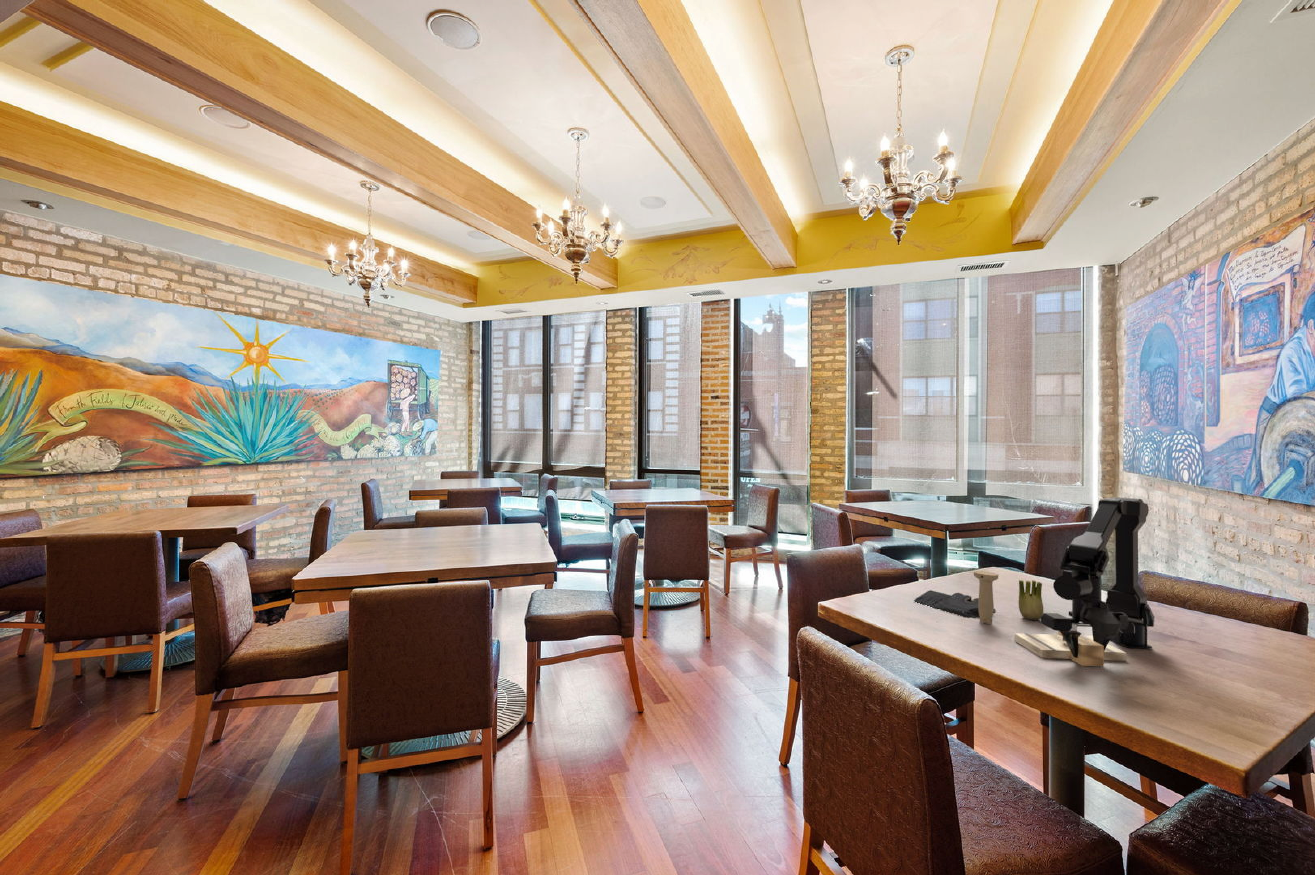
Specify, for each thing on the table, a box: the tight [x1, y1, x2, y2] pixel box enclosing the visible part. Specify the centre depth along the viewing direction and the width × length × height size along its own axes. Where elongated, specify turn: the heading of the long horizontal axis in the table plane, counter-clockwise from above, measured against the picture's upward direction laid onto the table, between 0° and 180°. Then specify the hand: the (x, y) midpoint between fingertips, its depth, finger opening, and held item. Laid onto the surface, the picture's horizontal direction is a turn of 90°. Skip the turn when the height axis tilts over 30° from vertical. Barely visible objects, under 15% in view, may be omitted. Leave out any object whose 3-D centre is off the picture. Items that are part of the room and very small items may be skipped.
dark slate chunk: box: [913, 590, 996, 619], centre depth 181 cm, size 15×22×5 cm
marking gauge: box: [1057, 631, 1105, 667], centre depth 138 cm, size 5×11×5 cm, turn 176°
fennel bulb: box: [1018, 579, 1044, 621], centre depth 168 cm, size 6×5×12 cm
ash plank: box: [1014, 632, 1127, 662], centre depth 143 cm, size 20×12×2 cm, turn 86°
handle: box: [973, 570, 999, 625], centre depth 165 cm, size 5×6×15 cm
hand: (1086, 657), depth 134 cm, fingers closed on marking gauge, 5 cm apart
